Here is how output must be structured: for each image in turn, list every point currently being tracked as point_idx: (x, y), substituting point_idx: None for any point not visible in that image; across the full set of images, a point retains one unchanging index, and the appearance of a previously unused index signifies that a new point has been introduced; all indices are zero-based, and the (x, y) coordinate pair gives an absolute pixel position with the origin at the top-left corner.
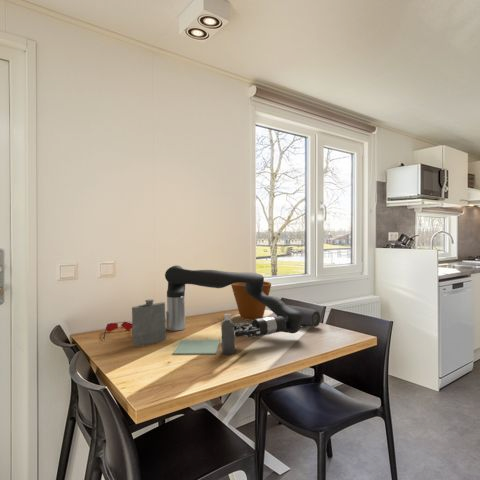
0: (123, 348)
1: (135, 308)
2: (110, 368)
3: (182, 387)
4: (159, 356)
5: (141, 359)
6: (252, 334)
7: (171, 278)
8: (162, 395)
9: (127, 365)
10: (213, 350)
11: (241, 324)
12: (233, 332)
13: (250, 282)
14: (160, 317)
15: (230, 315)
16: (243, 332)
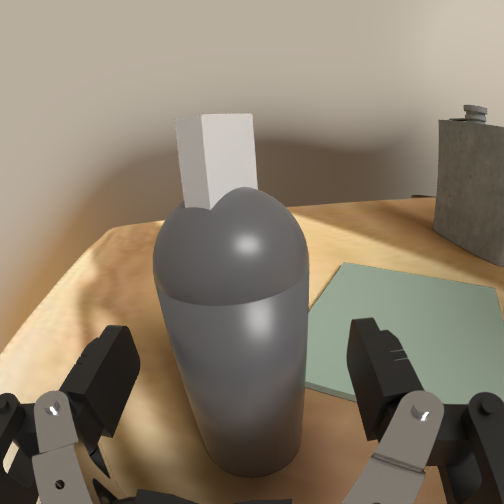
0: (422, 219)
1: (439, 121)
2: (298, 209)
3: (106, 258)
4: (339, 249)
5: (330, 230)
6: (22, 485)
7: None
8: (113, 241)
9: (301, 219)
10: (313, 368)
11: (350, 494)
12: (170, 339)
13: None
14: (495, 175)
15: (177, 132)
16: (65, 388)
